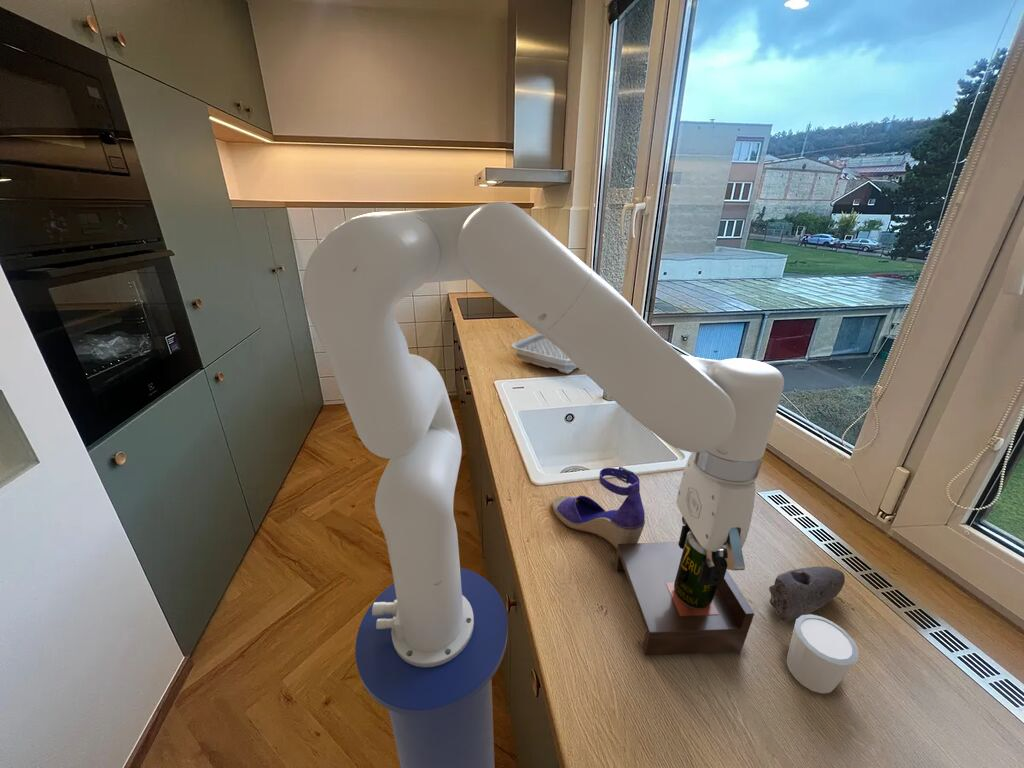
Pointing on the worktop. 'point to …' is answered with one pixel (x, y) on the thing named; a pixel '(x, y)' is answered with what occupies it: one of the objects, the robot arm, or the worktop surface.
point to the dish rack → (542, 353)
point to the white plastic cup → (820, 653)
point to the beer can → (693, 575)
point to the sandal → (606, 524)
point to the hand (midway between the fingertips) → (699, 563)
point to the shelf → (681, 605)
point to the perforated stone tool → (804, 590)
